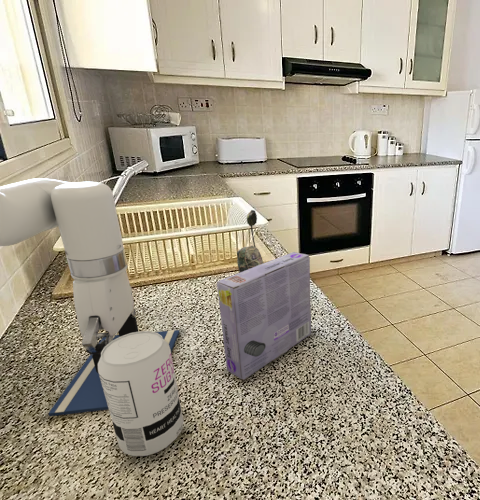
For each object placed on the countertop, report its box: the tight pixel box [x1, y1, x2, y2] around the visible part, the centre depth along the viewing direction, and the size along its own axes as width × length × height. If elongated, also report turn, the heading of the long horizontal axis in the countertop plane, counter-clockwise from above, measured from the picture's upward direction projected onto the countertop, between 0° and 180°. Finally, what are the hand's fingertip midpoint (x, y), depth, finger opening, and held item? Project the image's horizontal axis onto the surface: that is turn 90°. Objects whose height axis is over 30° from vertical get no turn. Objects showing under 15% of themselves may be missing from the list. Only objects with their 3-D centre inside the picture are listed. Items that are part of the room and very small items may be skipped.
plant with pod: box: [236, 209, 264, 273], centre depth 91 cm, size 8×11×20 cm
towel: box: [47, 329, 180, 417], centre depth 66 cm, size 14×20×1 cm
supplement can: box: [98, 330, 184, 457], centre depth 50 cm, size 8×8×15 cm
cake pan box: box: [216, 251, 312, 382], centre depth 68 cm, size 19×5×18 cm, turn 145°
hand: (119, 352), depth 65 cm, fingers open, 9 cm apart
